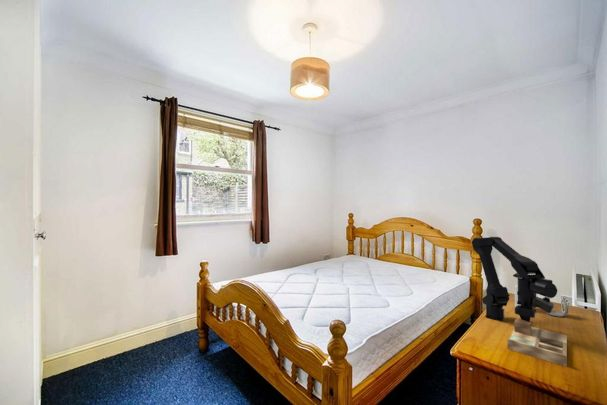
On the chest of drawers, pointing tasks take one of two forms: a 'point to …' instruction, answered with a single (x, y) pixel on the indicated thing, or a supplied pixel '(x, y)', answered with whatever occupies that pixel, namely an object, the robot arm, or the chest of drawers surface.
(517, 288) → the skincare box
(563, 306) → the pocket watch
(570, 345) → the chest of drawers surface
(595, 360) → the chest of drawers surface
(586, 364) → the chest of drawers surface
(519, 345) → the board
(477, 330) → the chest of drawers surface
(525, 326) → the walnut block
